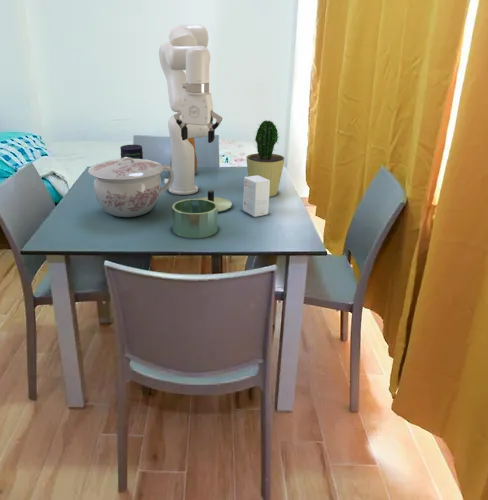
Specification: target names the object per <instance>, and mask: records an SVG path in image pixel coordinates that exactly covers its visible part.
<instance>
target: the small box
mask: <svg viewBox="0 0 488 500" xmlns="http://www.w3.org/2000/svg"><path fill="white" fill-rule="evenodd" d="M269 191H270V180H268V179H266V178H263V177H261V176H259V175H256V176H249V177H248V176H244V177H243V196H242V197H243V198H242V211H243V212H245V213H247V214H248V215H250V216H252V217H253V218H255V217H261V216H265V215H269V209H270V208H269V207H270V206H269V205H270V197H269Z"/></svg>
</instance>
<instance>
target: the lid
mask: <svg viewBox="0 0 488 500" xmlns="http://www.w3.org/2000/svg"><path fill="white" fill-rule="evenodd" d="M197 199H205V200H209V201H213V202H215V203H216V204H217V205H218V213H219V212H224V211H225V212H226V211H228V210H229V209H231V208H232V207H233V202H232V201H230V200H229V199H226V198H223V197H217V196H215V191H214V190H212V189H211V190H207V196H206V197H199V198H197Z"/></svg>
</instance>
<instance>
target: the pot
mask: <svg viewBox="0 0 488 500" xmlns="http://www.w3.org/2000/svg"><path fill="white" fill-rule="evenodd" d="M218 215H219V212H218V205H217V204H216V203H215V202H213V201H209V200H205V199H198V198H188V199H181V200H178V201H176V202H174V203H173V204H172V207H171V218H172V232H173V233H174V234H175V235H177V236H178V237H181V238H187V239H203V238H208V237H211V236H214V235H215V234H216V233H217V232H218V222H219V219H218V217H219V216H218Z"/></svg>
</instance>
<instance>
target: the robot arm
mask: <svg viewBox="0 0 488 500" xmlns="http://www.w3.org/2000/svg"><path fill="white" fill-rule="evenodd" d="M168 39H169V40H168V41H165V42H162V43H161V45H159V48H158V58H159V59H158V60H159V63H160V67H161V69H162V72H163V74H164V76H165V79H166V84H167V85H166V86H167V94H168V102H169V107H170V109H171V111H172V112H173V113H174V114H173V115H172V116H170V117H169V119H168V122H167V128H168V133H169V139H170V163H171V162H172V170H173V172H174V180H173V182H172V184H171V185H170V187H169V188H168V192H169V193H171V194H173V195H180V196H184V195H186V196H187V195H193V194H196V193H197V192H199V186H198V185H196V183H195V182H196V181H195V180H196V179H195V178H196V173H195V162H194V147H193V145H192V144H191V143H190V142H189V141H188V138H194V139H195V138H196V139H197V138H207V143H208V144H211V143H213V142H214V141H215V137H216V136H215V135H216V133H215V131H216V129H217V128H218V127H219V126H220V125H221V123H222V120H223V116H222V115H219V114H218V113H216V112H215V111H214V104H213V98H212V93H211V92H210V62H211V52H210V50H209V49H208V43H209V33H208V29H207V28H206V27H205V26H204V25H202V24H178V25H175V26H174V27H172V28H171V29H170V31H169V34H168ZM214 120H215V123H214V122H213V121H214ZM168 181H169V178H164V179H163V184H164V185H166V183H167V182H168Z"/></svg>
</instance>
